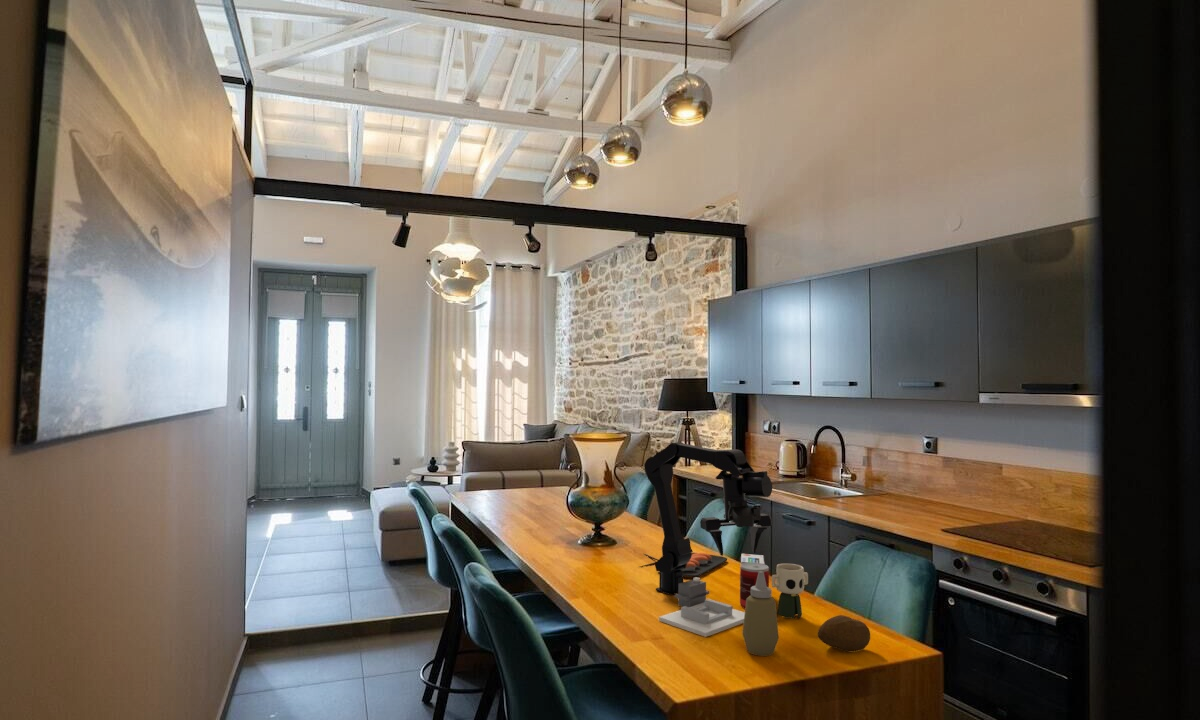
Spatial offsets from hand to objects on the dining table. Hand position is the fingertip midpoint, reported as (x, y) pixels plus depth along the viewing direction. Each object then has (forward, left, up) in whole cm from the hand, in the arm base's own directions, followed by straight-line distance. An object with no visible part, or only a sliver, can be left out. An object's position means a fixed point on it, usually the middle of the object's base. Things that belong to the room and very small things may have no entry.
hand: (737, 554), depth 193 cm
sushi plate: (-42, +22, -15) cm, 50 cm away
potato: (+34, -6, -15) cm, 38 cm away
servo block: (-10, -7, -15) cm, 19 cm away
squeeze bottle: (+22, -22, -15) cm, 35 cm away
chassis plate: (+1, -14, -15) cm, 20 cm away
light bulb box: (-4, +13, -15) cm, 20 cm away
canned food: (+2, +5, -15) cm, 16 cm away
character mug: (+13, +5, -15) cm, 20 cm away
